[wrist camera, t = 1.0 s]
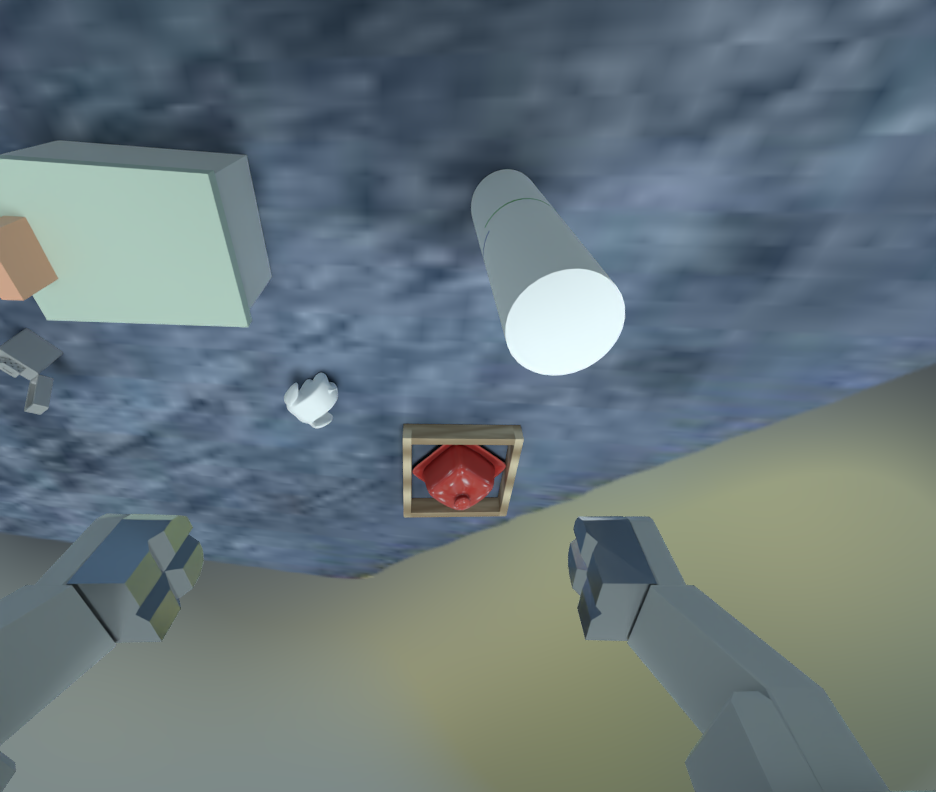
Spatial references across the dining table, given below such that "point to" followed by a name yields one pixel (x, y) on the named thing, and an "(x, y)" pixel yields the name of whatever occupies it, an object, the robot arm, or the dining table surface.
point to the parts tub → (226, 167)
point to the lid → (118, 243)
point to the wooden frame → (461, 436)
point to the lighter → (30, 366)
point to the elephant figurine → (312, 400)
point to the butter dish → (459, 474)
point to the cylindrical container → (543, 279)
